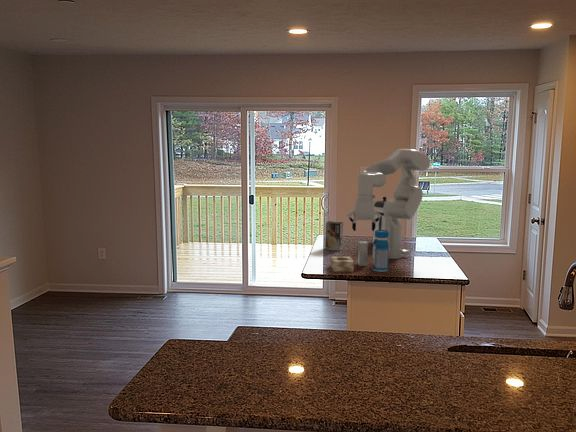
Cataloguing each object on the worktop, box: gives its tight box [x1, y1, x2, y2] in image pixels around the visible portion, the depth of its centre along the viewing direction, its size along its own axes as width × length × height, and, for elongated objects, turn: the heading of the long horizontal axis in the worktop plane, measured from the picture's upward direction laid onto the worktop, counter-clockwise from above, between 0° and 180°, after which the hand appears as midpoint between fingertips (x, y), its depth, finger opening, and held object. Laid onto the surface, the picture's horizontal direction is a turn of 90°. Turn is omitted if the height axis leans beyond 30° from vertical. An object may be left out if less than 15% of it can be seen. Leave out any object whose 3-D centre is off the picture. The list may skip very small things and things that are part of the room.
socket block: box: [330, 256, 355, 272], centre depth 255 cm, size 10×10×5 cm
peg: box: [357, 240, 369, 267], centre depth 263 cm, size 4×4×12 cm
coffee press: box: [370, 196, 388, 245], centre depth 310 cm, size 17×16×30 cm
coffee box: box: [324, 220, 344, 252], centre depth 296 cm, size 9×6×16 cm
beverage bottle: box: [371, 230, 390, 273], centre depth 253 cm, size 8×8×20 cm
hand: (363, 230), depth 261 cm, fingers open, 9 cm apart
